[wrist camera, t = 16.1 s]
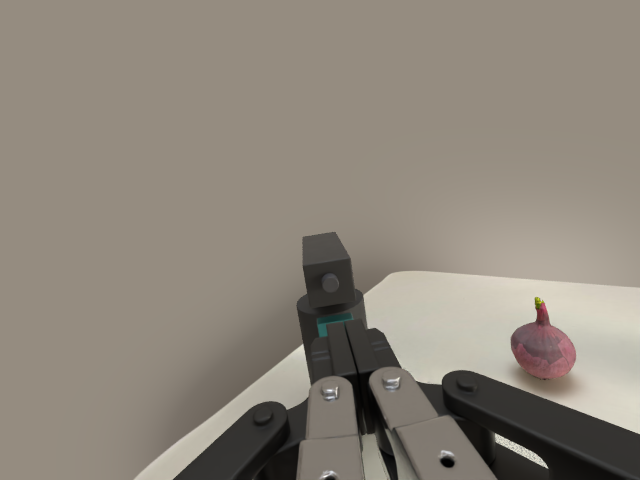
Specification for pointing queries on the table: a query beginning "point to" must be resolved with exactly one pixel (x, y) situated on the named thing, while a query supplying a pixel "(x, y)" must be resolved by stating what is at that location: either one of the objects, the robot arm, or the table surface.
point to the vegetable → (543, 347)
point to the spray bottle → (326, 287)
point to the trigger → (331, 319)
